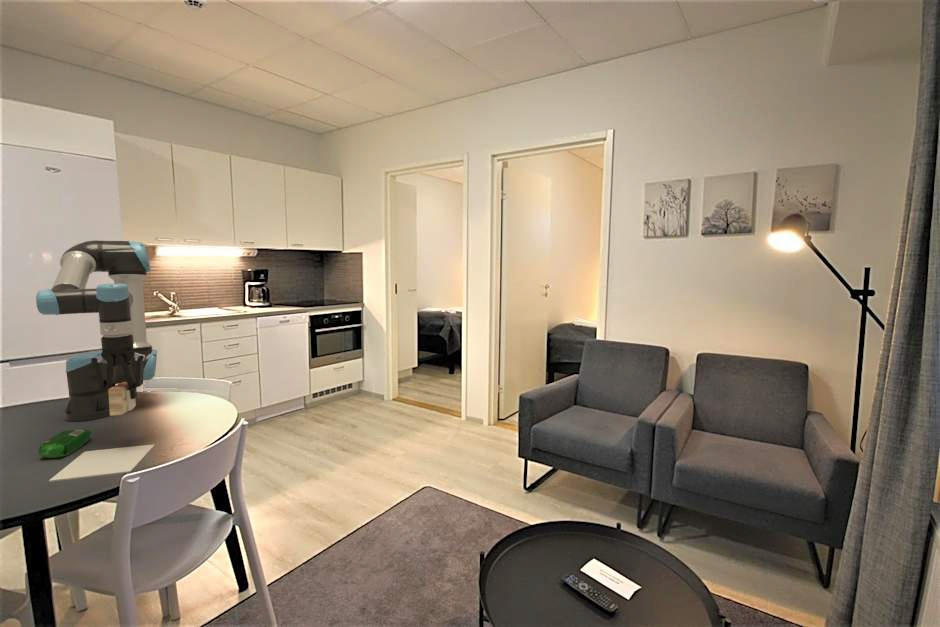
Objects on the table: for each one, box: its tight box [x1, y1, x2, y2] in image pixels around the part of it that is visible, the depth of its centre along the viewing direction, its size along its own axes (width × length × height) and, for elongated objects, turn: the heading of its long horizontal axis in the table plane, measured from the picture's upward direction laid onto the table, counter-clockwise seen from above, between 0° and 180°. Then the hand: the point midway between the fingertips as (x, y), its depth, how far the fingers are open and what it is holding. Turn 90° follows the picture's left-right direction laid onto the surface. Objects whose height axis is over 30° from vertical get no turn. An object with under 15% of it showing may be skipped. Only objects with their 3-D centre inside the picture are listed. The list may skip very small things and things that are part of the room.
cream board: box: [48, 444, 156, 483], centre depth 126 cm, size 18×18×1 cm
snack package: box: [38, 428, 91, 459], centre depth 133 cm, size 7×16×5 cm, turn 12°
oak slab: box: [108, 382, 137, 417], centre depth 134 cm, size 10×3×8 cm, turn 18°
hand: (124, 409), depth 135 cm, fingers closed on oak slab, 3 cm apart
